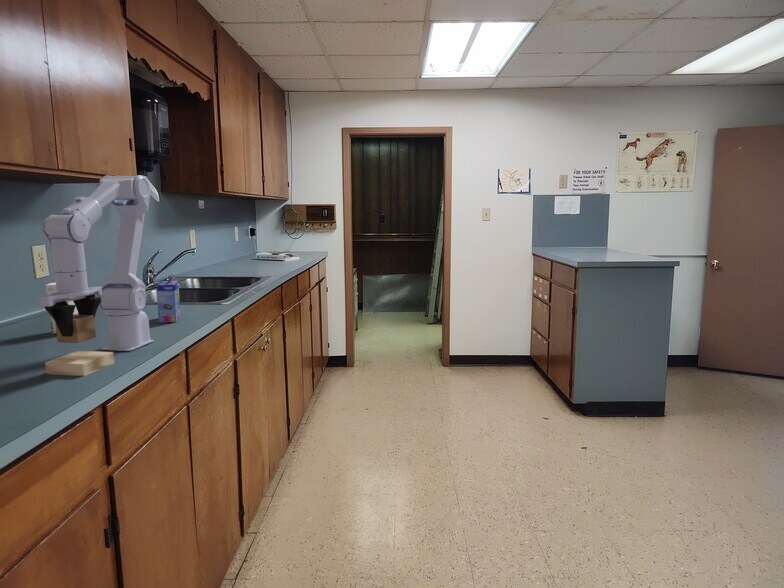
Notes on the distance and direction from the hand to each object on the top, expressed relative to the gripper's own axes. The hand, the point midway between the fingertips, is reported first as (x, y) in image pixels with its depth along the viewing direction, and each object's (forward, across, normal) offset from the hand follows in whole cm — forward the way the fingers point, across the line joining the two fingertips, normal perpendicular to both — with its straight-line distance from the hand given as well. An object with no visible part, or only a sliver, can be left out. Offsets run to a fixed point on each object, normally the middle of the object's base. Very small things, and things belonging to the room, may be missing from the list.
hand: (77, 332), depth 104 cm
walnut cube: (+2, 0, 0) cm, 2 cm away
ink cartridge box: (+8, -48, -10) cm, 50 cm away
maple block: (+8, 0, 0) cm, 8 cm away
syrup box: (+8, -29, -30) cm, 43 cm away
